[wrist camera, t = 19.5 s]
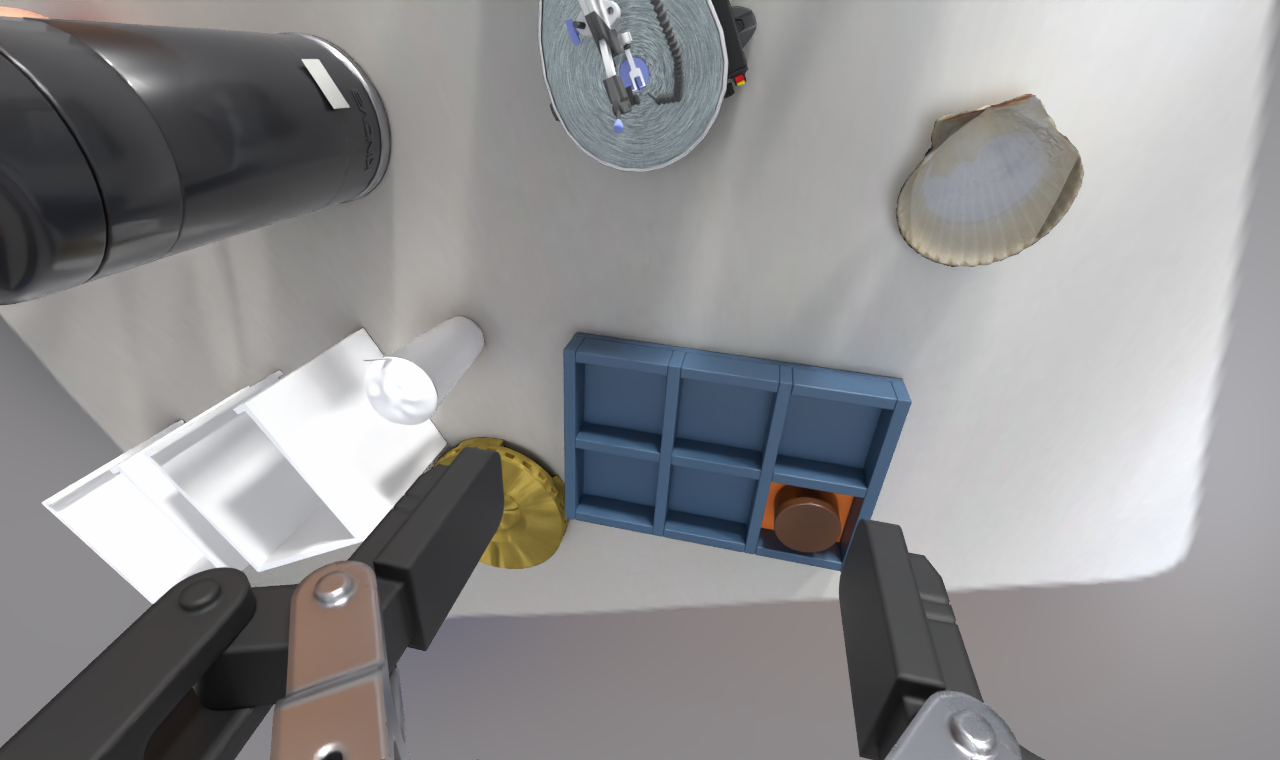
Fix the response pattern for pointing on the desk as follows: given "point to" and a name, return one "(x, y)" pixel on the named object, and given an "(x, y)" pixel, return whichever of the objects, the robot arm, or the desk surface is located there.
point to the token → (806, 518)
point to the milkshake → (422, 371)
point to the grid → (720, 442)
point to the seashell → (989, 184)
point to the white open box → (253, 477)
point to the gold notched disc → (522, 509)
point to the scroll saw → (641, 73)
